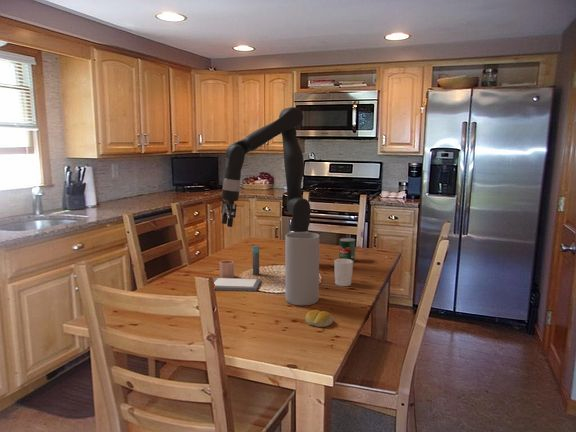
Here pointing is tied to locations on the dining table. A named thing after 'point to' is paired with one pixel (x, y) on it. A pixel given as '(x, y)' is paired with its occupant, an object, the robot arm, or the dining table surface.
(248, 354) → the dining table surface
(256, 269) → the marker
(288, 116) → the robot arm
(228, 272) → the pen cup
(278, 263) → the dining table surface
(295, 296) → the cylinder vase
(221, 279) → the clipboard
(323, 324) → the bread roll
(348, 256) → the canned tomato
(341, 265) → the white cup
